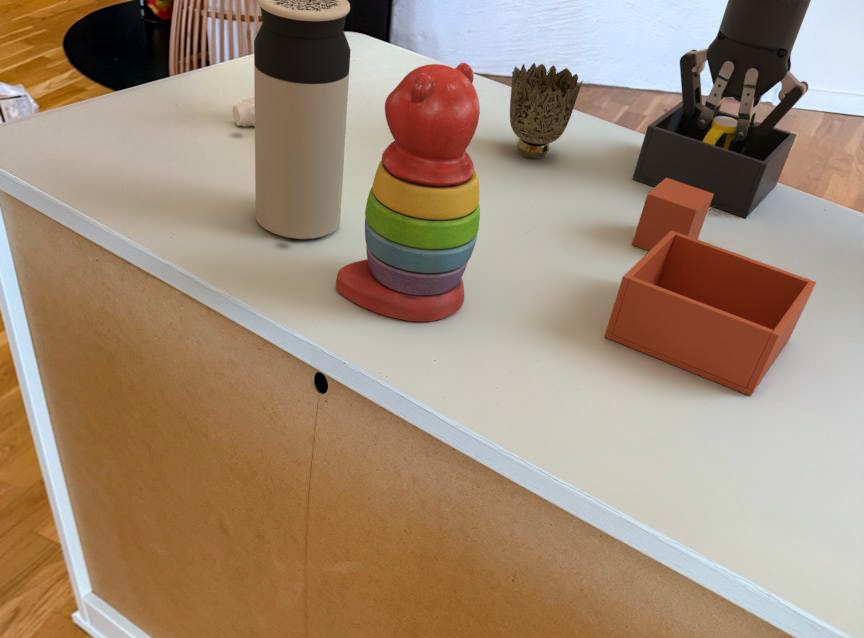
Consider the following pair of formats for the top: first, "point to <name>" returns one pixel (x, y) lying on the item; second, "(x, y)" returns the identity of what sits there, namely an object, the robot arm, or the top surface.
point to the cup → (541, 107)
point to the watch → (721, 130)
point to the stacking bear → (421, 201)
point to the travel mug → (300, 115)
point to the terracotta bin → (708, 310)
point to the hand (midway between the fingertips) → (710, 167)
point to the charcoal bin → (712, 162)
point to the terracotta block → (671, 212)
